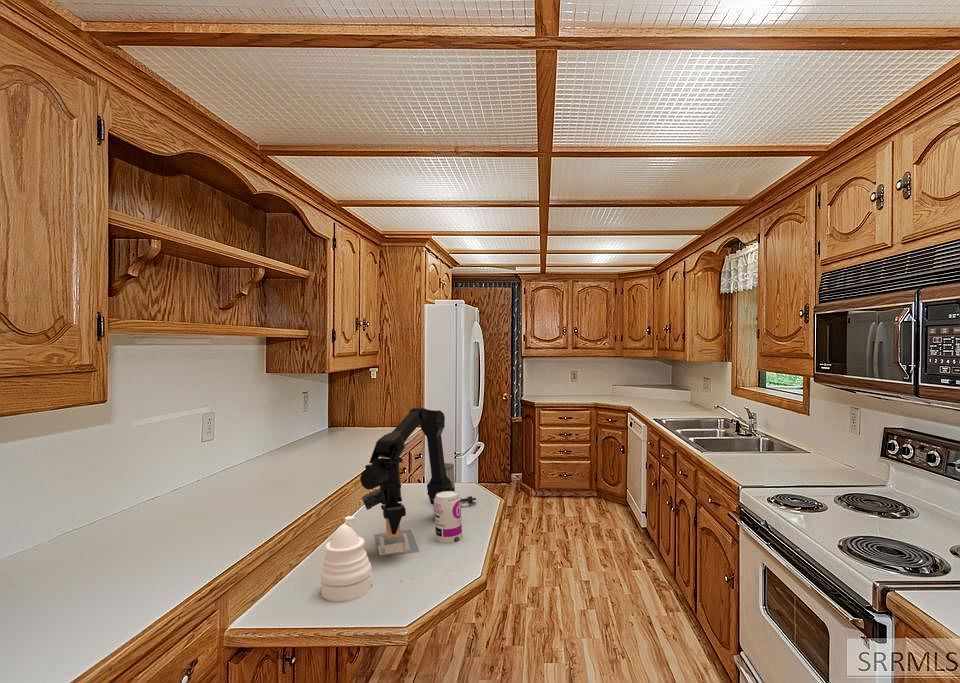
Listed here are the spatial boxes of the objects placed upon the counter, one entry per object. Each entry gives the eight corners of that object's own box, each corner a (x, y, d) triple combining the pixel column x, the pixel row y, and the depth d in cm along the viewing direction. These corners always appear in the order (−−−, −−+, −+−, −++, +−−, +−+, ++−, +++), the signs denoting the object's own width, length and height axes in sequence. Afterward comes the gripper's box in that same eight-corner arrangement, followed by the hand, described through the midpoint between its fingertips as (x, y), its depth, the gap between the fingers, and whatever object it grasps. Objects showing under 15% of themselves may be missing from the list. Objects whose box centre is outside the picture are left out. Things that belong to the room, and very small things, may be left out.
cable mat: (410, 532, 172) (410, 529, 172) (419, 555, 153) (419, 551, 153) (374, 538, 169) (374, 534, 169) (378, 562, 150) (378, 558, 150)
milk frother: (430, 501, 206) (428, 464, 206) (468, 496, 211) (466, 459, 211) (438, 512, 192) (436, 472, 192) (479, 506, 197) (476, 467, 197)
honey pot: (352, 573, 144) (348, 508, 144) (382, 585, 136) (378, 516, 136) (311, 592, 134) (307, 522, 134) (341, 606, 126) (337, 532, 126)
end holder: (407, 543, 160) (407, 531, 160) (410, 551, 154) (410, 539, 154) (378, 547, 158) (377, 536, 158) (380, 556, 151) (379, 544, 151)
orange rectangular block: (399, 532, 158) (398, 512, 158) (400, 536, 155) (399, 516, 155) (386, 534, 157) (385, 514, 157) (387, 538, 154) (386, 517, 154)
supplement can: (466, 538, 165) (464, 491, 165) (454, 548, 157) (452, 499, 157) (444, 535, 168) (441, 489, 168) (431, 545, 160) (428, 497, 161)
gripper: (361, 476, 163) (364, 525, 163) (364, 492, 145) (367, 547, 145) (397, 471, 166) (400, 520, 166) (404, 486, 148) (407, 541, 148)
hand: (393, 532), depth 156 cm, fingers closed on orange rectangular block, 3 cm apart
